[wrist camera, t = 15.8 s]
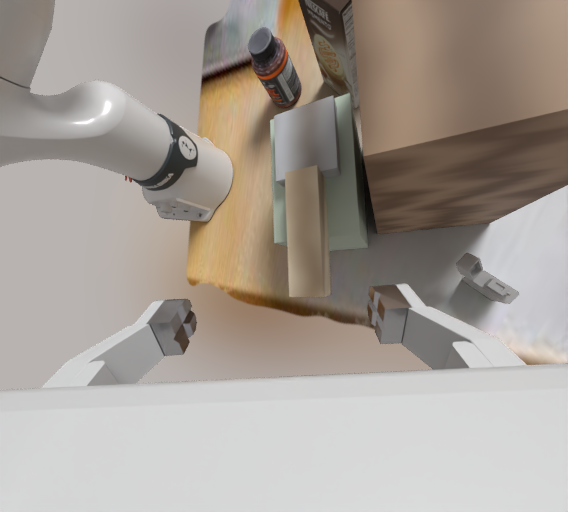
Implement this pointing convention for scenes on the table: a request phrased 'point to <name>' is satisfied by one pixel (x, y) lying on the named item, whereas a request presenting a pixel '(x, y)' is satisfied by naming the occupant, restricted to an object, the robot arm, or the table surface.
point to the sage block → (333, 188)
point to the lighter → (484, 280)
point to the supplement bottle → (274, 67)
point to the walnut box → (461, 107)
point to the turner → (307, 190)
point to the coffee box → (333, 43)
